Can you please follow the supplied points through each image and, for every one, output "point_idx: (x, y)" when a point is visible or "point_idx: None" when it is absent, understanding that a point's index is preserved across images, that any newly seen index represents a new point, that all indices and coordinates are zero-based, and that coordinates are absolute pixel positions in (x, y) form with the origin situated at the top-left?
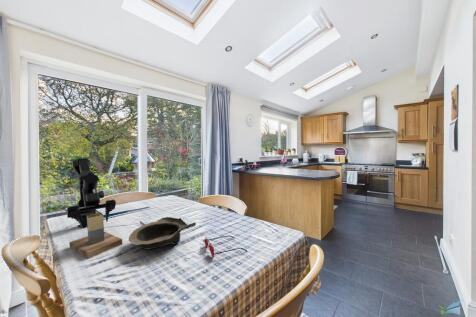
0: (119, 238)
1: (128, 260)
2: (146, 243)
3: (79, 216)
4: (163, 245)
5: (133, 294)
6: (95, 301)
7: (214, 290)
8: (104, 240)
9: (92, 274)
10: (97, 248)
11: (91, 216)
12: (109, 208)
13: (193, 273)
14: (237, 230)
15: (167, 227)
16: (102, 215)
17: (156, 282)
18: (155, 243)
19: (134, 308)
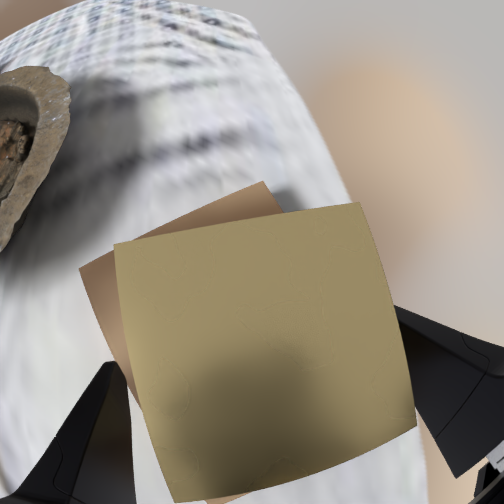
0: (90, 291)
1: (112, 109)
2: (44, 73)
3: (483, 355)
4: (4, 115)
5: (153, 17)
6: (217, 21)
7: (61, 14)
8: None
9: (228, 84)
10: (218, 204)
11: (329, 271)
12: (12, 499)
13: (47, 40)
14: None
15: None
16: (127, 243)
17: (106, 29)
18: (18, 99)
19: (162, 3)
